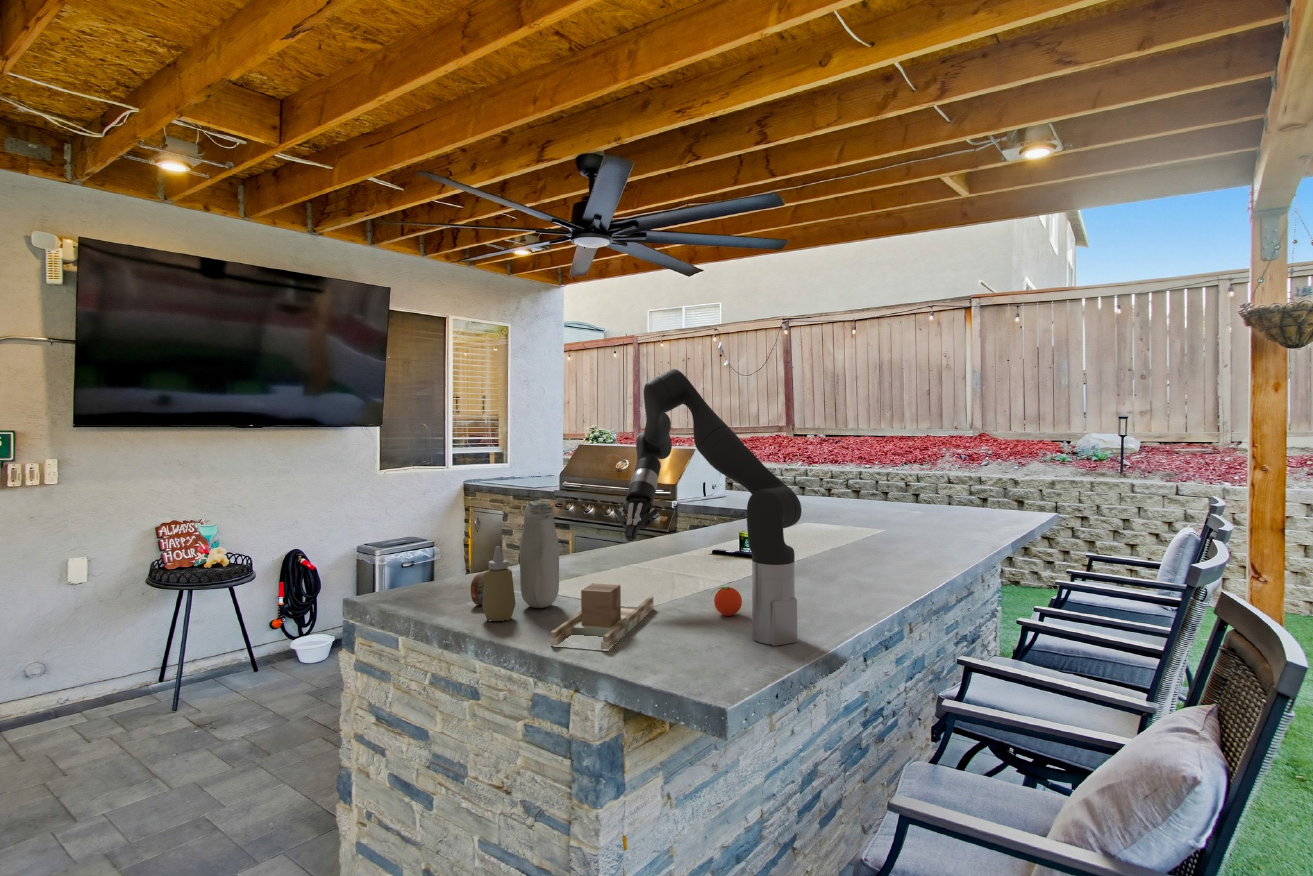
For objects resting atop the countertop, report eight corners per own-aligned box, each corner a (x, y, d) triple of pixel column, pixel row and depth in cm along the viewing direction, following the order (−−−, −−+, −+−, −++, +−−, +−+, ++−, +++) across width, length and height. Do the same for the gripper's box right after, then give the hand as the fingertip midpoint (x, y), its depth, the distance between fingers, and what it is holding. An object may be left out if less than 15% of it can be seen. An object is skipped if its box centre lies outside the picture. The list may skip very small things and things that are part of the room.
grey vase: (563, 609, 174) (562, 501, 174) (524, 613, 171) (522, 503, 170) (554, 600, 184) (553, 497, 183) (517, 604, 180) (515, 499, 179)
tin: (479, 609, 176) (478, 576, 176) (468, 608, 177) (468, 576, 177) (508, 595, 190) (508, 565, 190) (498, 594, 191) (498, 564, 191)
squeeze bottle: (502, 613, 172) (501, 542, 171) (522, 618, 166) (521, 545, 166) (475, 620, 165) (474, 547, 165) (495, 626, 160) (494, 550, 160)
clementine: (706, 616, 166) (705, 588, 166) (715, 609, 173) (715, 582, 173) (737, 620, 163) (736, 591, 163) (745, 613, 169) (745, 584, 169)
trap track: (606, 605, 177) (606, 593, 177) (653, 609, 174) (653, 596, 174) (550, 646, 145) (550, 631, 145) (607, 651, 141) (607, 636, 141)
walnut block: (592, 616, 160) (592, 583, 160) (620, 618, 158) (620, 585, 158) (581, 625, 153) (581, 590, 153) (610, 627, 151) (610, 592, 151)
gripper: (668, 497, 188) (656, 548, 177) (623, 496, 192) (609, 547, 180) (663, 479, 183) (650, 531, 172) (616, 479, 187) (602, 530, 175)
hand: (629, 539), depth 176 cm, fingers closed
